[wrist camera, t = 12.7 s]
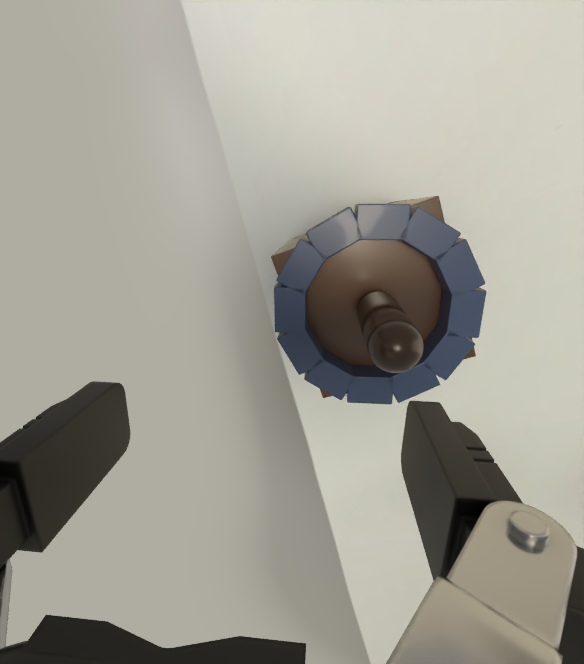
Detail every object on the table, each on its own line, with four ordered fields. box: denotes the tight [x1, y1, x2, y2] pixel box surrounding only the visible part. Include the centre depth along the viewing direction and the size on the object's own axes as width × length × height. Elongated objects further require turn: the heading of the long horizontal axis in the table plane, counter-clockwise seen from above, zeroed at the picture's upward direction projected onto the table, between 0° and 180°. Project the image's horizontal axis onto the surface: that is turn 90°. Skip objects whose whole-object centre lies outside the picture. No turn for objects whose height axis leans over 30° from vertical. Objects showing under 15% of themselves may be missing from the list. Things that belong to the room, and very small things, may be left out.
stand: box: [271, 196, 476, 398], centre depth 25 cm, size 10×10×22 cm
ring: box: [274, 204, 486, 404], centre depth 22 cm, size 12×12×2 cm
